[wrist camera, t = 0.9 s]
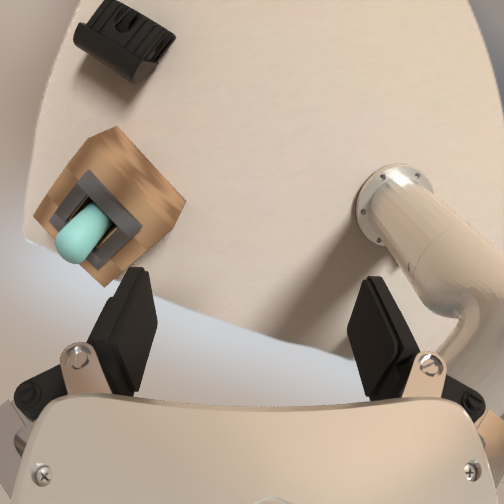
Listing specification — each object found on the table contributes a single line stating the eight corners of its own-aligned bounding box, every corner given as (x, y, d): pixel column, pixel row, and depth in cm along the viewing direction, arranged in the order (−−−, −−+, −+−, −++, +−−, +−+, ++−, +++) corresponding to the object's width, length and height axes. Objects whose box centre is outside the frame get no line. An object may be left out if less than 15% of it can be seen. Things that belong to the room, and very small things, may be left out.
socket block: (186, 201, 40) (170, 232, 32) (123, 255, 44) (101, 292, 36) (117, 125, 34) (83, 140, 26) (61, 192, 38) (28, 219, 31)
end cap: (91, 47, 28) (63, 44, 22) (123, 3, 25) (100, -8, 19) (145, 83, 31) (124, 84, 26) (181, 38, 29) (166, 30, 23)
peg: (123, 212, 35) (93, 250, 27) (105, 230, 36) (75, 270, 29) (102, 189, 33) (66, 222, 26) (85, 209, 35) (49, 244, 27)
